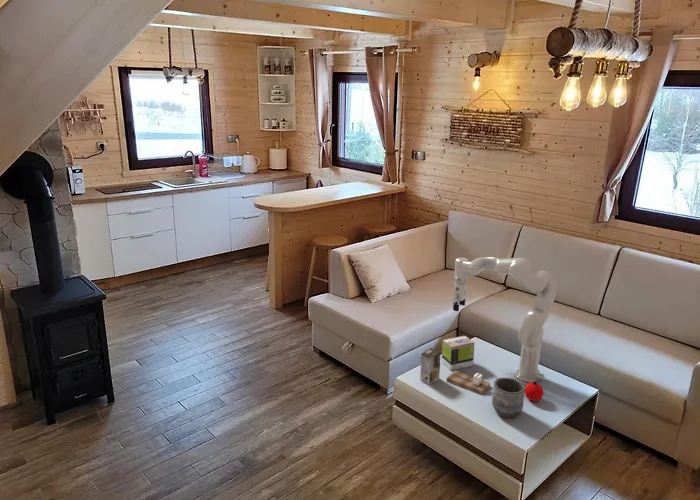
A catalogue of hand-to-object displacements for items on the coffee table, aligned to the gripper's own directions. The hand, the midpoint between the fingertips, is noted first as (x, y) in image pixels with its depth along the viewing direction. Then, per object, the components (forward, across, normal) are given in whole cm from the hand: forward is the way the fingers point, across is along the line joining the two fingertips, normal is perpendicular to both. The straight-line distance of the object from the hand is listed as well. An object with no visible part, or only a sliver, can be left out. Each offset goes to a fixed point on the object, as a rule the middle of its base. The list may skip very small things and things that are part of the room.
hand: (458, 307), depth 296 cm
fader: (+28, -27, -22) cm, 44 cm away
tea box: (+30, -10, -5) cm, 32 cm away
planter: (+30, -41, -42) cm, 66 cm away
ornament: (+30, -23, -50) cm, 62 cm away
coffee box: (+30, -34, +2) cm, 45 cm away
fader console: (+30, -27, -17) cm, 43 cm away
